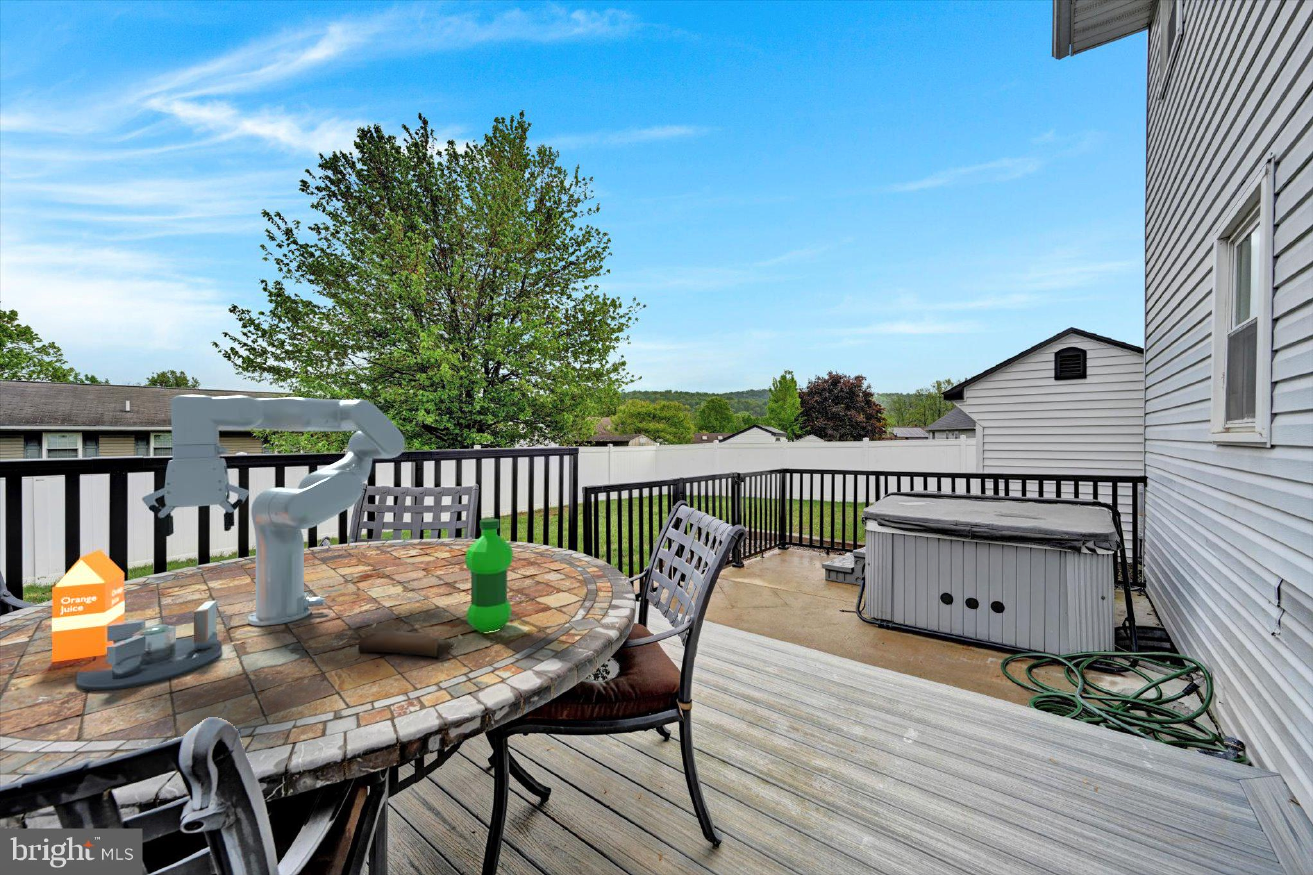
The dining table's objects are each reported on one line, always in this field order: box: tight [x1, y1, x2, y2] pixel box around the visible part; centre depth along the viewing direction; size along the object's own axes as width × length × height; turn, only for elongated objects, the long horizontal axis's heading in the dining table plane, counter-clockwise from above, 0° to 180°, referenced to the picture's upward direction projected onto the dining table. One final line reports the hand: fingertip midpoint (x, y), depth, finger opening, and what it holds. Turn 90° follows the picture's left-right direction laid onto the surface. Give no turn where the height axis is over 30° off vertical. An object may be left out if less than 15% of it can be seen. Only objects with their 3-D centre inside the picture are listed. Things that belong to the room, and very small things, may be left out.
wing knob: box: [193, 600, 218, 649], centre depth 106 cm, size 7×4×8 cm, turn 27°
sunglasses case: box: [357, 630, 456, 659], centre depth 108 cm, size 18×7×7 cm, turn 80°
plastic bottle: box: [464, 518, 514, 632], centre depth 119 cm, size 10×10×25 cm
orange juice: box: [51, 549, 126, 663], centre depth 107 cm, size 8×9×20 cm
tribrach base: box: [76, 619, 223, 692], centre depth 100 cm, size 20×20×8 cm
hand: (199, 532), depth 112 cm, fingers open, 9 cm apart
